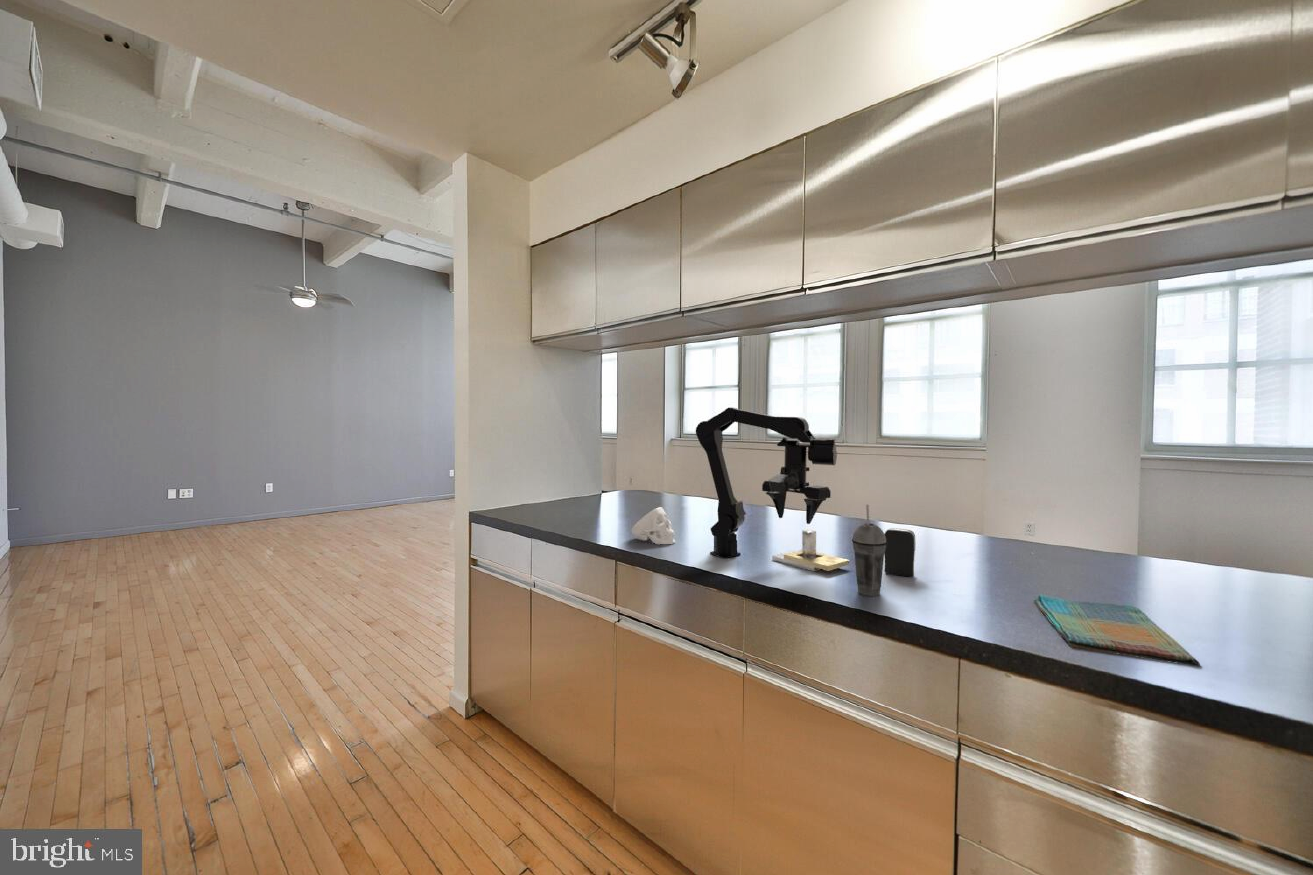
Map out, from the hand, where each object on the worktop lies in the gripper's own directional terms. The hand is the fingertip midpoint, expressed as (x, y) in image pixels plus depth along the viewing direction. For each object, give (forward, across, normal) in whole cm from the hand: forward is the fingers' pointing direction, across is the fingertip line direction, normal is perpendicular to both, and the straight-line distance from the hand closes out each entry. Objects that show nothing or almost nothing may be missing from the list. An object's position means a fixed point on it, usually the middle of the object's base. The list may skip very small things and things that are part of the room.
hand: (794, 520), depth 136 cm
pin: (+12, +3, +2) cm, 12 cm away
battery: (+11, +22, +13) cm, 28 cm away
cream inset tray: (+12, +3, +2) cm, 12 cm away
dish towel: (+11, +62, +10) cm, 64 cm away
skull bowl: (+13, -44, -15) cm, 48 cm away
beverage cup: (+12, +25, -6) cm, 28 cm away
